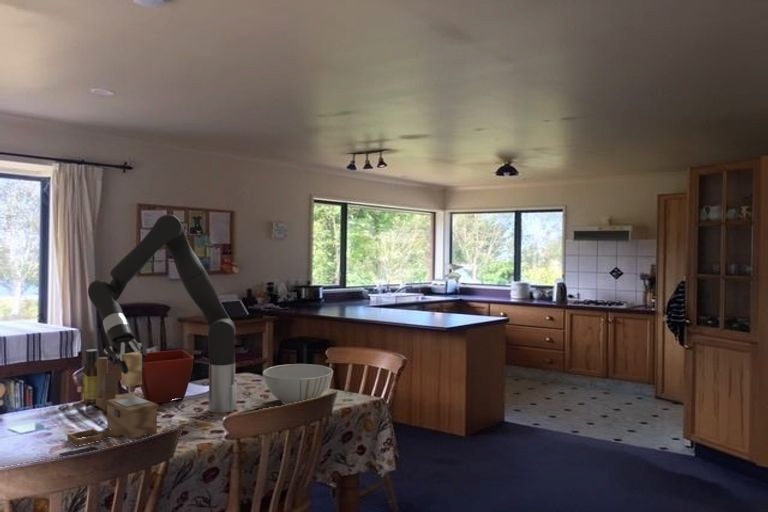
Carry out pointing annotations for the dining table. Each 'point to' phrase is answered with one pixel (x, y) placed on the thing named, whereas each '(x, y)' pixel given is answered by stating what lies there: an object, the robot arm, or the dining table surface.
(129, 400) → the brown box with frame
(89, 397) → the sauce bottle
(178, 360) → the plant pot
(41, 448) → the dining table surface
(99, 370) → the wooden block
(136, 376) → the tan cylinder
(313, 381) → the decorative bowl
